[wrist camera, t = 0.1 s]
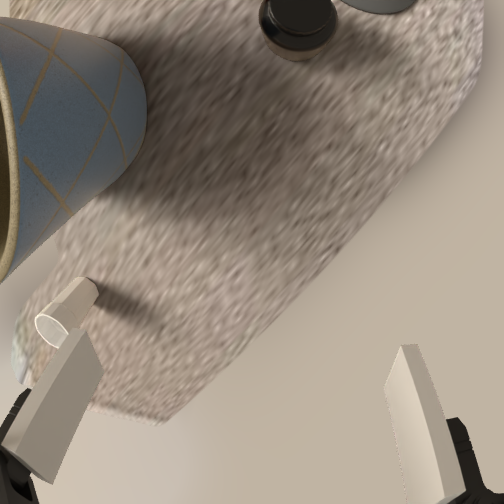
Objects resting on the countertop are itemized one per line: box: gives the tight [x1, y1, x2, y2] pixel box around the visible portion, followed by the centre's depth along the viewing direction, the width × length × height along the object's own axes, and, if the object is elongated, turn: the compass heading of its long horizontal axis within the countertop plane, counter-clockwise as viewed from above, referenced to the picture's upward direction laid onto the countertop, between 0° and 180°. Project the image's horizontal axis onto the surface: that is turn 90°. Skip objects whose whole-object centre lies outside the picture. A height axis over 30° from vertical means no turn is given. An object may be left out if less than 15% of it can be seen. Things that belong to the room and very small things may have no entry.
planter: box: [0, 17, 147, 284], centre depth 24 cm, size 23×23×24 cm
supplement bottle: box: [259, 0, 338, 61], centre depth 23 cm, size 7×7×12 cm
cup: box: [35, 277, 99, 349], centre depth 42 cm, size 7×7×11 cm
